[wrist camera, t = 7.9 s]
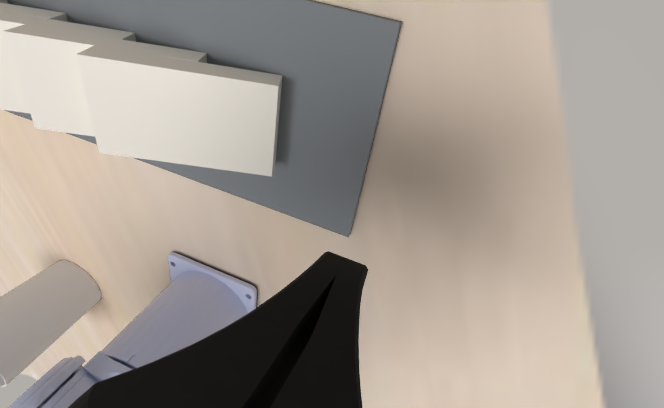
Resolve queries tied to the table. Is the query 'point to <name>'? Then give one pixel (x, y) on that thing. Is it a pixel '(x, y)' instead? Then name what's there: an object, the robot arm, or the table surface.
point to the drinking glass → (41, 314)
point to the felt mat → (296, 92)
